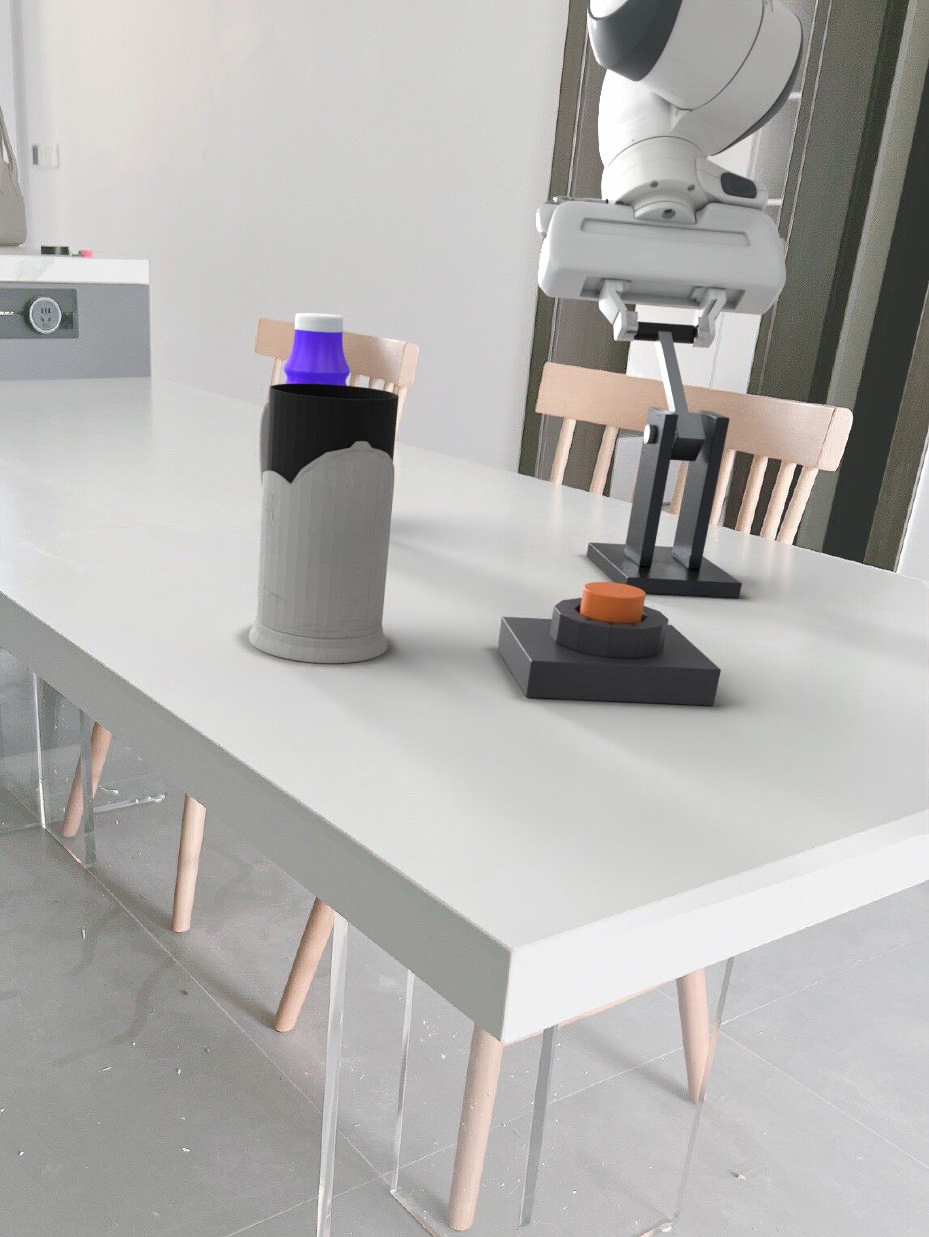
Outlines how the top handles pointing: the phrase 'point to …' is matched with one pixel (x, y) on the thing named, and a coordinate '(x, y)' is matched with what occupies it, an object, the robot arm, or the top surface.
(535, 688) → the switch box
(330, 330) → the bottle
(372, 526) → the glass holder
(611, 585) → the button
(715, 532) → the top surface
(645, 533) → the bracket
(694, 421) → the lever
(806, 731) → the top surface
